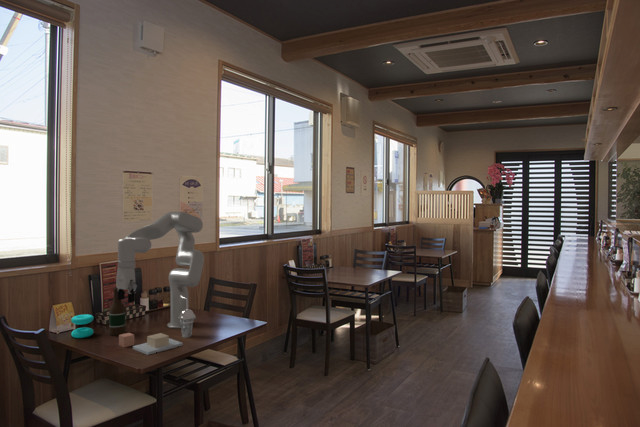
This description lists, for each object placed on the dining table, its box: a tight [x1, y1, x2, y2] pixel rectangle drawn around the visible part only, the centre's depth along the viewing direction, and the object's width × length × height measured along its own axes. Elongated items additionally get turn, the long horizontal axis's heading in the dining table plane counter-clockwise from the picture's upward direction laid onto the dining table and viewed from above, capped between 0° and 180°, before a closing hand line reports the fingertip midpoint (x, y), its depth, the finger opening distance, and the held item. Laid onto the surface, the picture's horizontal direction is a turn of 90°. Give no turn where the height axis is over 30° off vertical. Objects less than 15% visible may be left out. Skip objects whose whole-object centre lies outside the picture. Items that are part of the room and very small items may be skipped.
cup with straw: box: [178, 296, 196, 339], centre depth 231 cm, size 8×9×20 cm
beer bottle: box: [108, 286, 127, 337], centre depth 233 cm, size 8×8×24 cm
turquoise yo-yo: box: [71, 313, 95, 339], centre depth 230 cm, size 10×10×10 cm
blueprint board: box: [132, 332, 184, 356], centre depth 213 cm, size 18×13×5 cm
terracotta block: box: [118, 332, 135, 348], centre depth 216 cm, size 5×5×5 cm
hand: (126, 300), depth 215 cm, fingers open, 9 cm apart
